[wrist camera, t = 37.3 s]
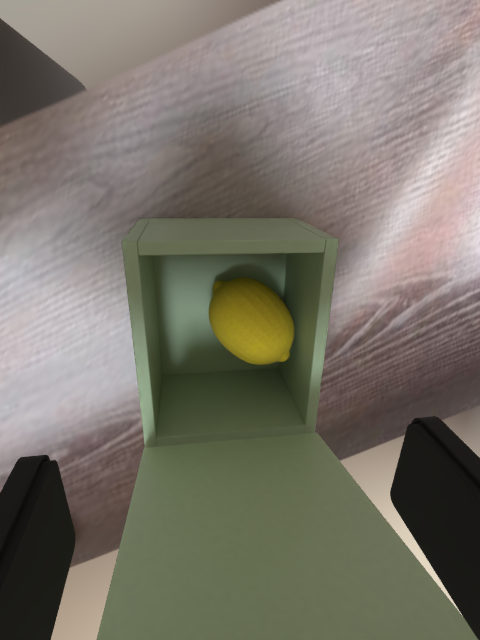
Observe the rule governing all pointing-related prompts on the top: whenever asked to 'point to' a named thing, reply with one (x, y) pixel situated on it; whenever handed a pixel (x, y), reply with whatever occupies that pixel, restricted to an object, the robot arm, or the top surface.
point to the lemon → (251, 321)
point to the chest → (199, 339)
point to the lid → (265, 552)
